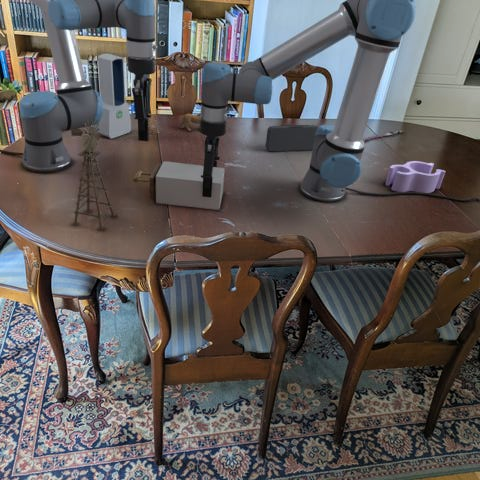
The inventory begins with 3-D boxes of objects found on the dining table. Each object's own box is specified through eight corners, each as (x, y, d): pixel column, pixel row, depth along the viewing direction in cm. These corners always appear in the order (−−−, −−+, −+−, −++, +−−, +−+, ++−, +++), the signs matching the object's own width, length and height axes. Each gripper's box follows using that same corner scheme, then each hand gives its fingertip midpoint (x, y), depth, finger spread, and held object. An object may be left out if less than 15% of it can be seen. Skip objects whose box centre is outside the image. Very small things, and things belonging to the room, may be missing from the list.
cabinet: (156, 203, 144) (155, 176, 139) (163, 186, 153) (163, 161, 148) (219, 210, 144) (221, 183, 139) (222, 193, 153) (224, 168, 148)
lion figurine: (209, 126, 205) (210, 106, 200) (212, 130, 201) (214, 110, 196) (176, 127, 200) (177, 107, 195) (179, 132, 196) (180, 111, 191)
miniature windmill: (101, 230, 128) (92, 124, 112) (72, 224, 129) (59, 119, 113) (115, 214, 135) (109, 113, 119) (88, 209, 136) (78, 108, 120)
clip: (398, 195, 164) (404, 177, 160) (379, 179, 174) (383, 162, 170) (444, 191, 170) (450, 174, 166) (423, 176, 180) (428, 160, 176)
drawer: (131, 196, 144) (130, 175, 140) (139, 182, 152) (138, 162, 149) (209, 205, 144) (210, 184, 140) (212, 190, 152) (214, 170, 148)
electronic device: (109, 139, 182) (104, 59, 166) (96, 134, 185) (89, 55, 169) (132, 131, 192) (129, 55, 175) (118, 127, 195) (114, 51, 178)
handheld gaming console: (315, 147, 196) (319, 124, 190) (317, 149, 194) (322, 126, 188) (264, 149, 189) (267, 125, 183) (266, 152, 187) (269, 127, 181)
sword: (399, 131, 224) (400, 128, 223) (404, 133, 222) (405, 130, 221) (355, 142, 208) (356, 139, 207) (360, 144, 206) (361, 142, 205)
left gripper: (149, 63, 121) (150, 149, 133) (160, 53, 132) (160, 133, 144) (120, 60, 121) (125, 146, 134) (133, 50, 132) (136, 131, 145)
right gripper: (222, 135, 124) (216, 207, 136) (230, 108, 144) (224, 173, 156) (194, 132, 124) (191, 204, 136) (206, 106, 144) (202, 170, 156)
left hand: (143, 139), depth 139 cm, fingers closed
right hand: (209, 187), depth 146 cm, fingers closed on cabinet, 11 cm apart
